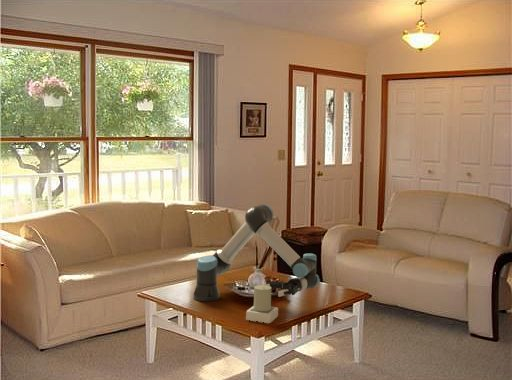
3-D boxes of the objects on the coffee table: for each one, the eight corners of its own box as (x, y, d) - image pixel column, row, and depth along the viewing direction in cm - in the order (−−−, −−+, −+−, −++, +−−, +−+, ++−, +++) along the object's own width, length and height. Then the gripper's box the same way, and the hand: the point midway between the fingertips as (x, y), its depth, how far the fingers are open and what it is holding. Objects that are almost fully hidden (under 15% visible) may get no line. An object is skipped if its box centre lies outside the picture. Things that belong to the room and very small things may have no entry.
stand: (246, 319, 324) (246, 310, 324) (255, 312, 336) (255, 303, 336) (269, 323, 319) (269, 314, 319) (277, 316, 332) (278, 307, 331)
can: (256, 311, 322) (256, 289, 320) (251, 306, 331) (251, 284, 329) (273, 310, 324) (273, 288, 323) (268, 305, 333) (268, 283, 332)
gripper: (313, 296, 335) (286, 303, 320) (280, 286, 353) (253, 292, 338) (314, 282, 334) (286, 289, 320) (281, 273, 352) (253, 279, 338)
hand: (269, 291), depth 329 cm, fingers open, 13 cm apart
